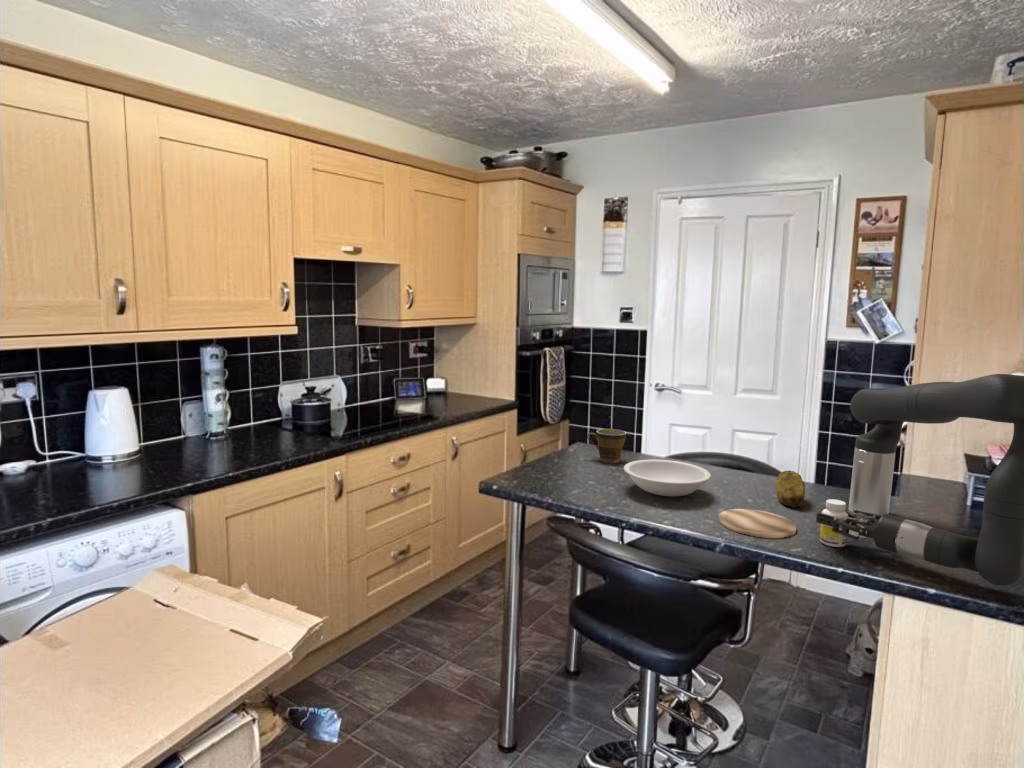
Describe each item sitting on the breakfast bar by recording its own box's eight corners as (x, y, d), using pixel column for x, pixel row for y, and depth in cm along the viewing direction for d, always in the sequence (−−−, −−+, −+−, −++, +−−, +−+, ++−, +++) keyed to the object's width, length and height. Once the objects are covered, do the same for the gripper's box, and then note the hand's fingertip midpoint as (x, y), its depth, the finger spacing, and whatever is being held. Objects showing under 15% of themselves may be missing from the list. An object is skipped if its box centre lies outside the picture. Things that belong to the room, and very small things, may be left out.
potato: (768, 505, 167) (771, 476, 166) (776, 493, 178) (778, 466, 177) (802, 511, 163) (804, 482, 162) (808, 498, 174) (810, 471, 173)
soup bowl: (616, 499, 169) (617, 476, 168) (629, 476, 191) (630, 456, 190) (708, 511, 161) (710, 487, 160) (710, 486, 184) (711, 464, 183)
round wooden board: (742, 507, 165) (743, 504, 165) (809, 527, 151) (810, 524, 151) (703, 521, 154) (703, 517, 154) (772, 544, 140) (772, 540, 140)
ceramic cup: (624, 457, 214) (625, 429, 212) (625, 465, 204) (627, 435, 203) (586, 455, 215) (587, 427, 214) (585, 463, 206) (587, 433, 204)
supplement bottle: (837, 538, 144) (841, 498, 143) (850, 547, 139) (855, 506, 138) (814, 538, 144) (818, 498, 143) (827, 547, 139) (831, 505, 137)
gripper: (919, 513, 134) (838, 493, 147) (893, 527, 125) (809, 504, 138) (915, 546, 135) (835, 523, 148) (889, 562, 126) (807, 537, 139)
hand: (823, 514), depth 143 cm, fingers closed on supplement bottle, 5 cm apart
